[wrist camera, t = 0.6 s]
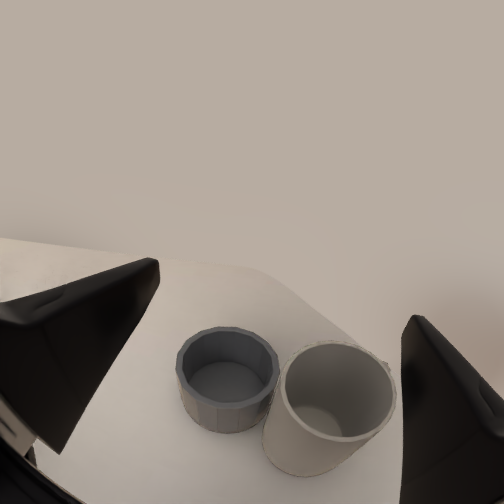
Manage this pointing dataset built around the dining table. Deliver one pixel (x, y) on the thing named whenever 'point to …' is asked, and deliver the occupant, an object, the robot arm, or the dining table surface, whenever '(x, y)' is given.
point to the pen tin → (227, 378)
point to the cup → (327, 407)
